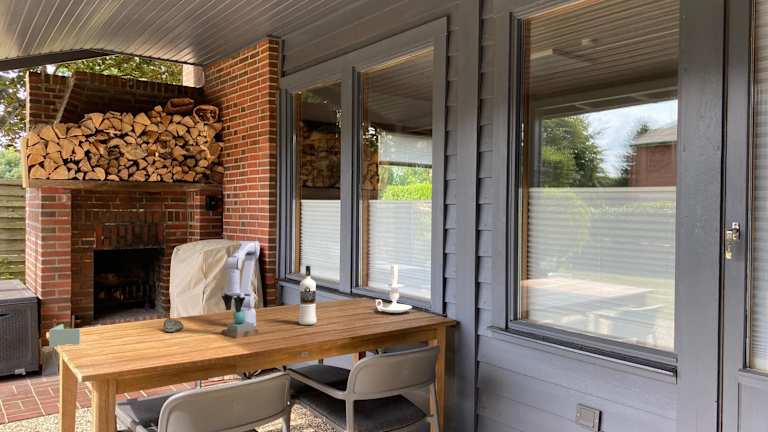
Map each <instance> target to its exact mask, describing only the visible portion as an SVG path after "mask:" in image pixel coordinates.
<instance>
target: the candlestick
mask: <svg viewBox="0 0 768 432" xmlns="http://www.w3.org/2000/svg"><path fill="white" fill-rule="evenodd" d="M390 268H391V276H390V277H391V280H390V282H391V283H387V284H384V286H385V287H386V288H387V287H388V288H390V289H391V290H390V292H389V298H390V300H391V301H392V302H391V303H383V301H382V299H375V307H376V308H377V311H379V312H384V313H390V314H400V313H405V312H407V311H409V310H410V309H412V308H413V306H412V305H409V304H404V303H403V304H402V303H397V301H398V299H399V298H400V293H399V291H398V288H402V287H404V286H405V284H399V283H398V278H399V277H398V276H399V275H398V274H399V272H398V271H399V270H398V269H399V266H398V264H392V265H391V267H390ZM378 302H380V304H379V305H378Z"/></svg>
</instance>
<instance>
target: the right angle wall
mask: <svg viewBox="0 0 768 432" xmlns="http://www.w3.org/2000/svg"><path fill="white" fill-rule="evenodd" d="M48 333H49V338H48V342H49V343H48V344H49V345H48V346H49V348H58V347H57V346H58V345H65V344H73V345H81V328H64V324H63V323H62V324H59V325H56V326H54V327H52V328H50V329H49V331H48Z"/></svg>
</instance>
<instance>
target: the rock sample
mask: <svg viewBox="0 0 768 432" xmlns="http://www.w3.org/2000/svg"><path fill="white" fill-rule="evenodd" d="M184 328H185V327H184V324H182V321H180V320H178V319H173V318H171V317H167V318H166V319H165V320H164V322H163V329H164V331H166V332H169V333H172V332H173V333H174V332H179V331H181V330H183V329H184Z"/></svg>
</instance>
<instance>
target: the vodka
mask: <svg viewBox="0 0 768 432" xmlns="http://www.w3.org/2000/svg"><path fill="white" fill-rule="evenodd" d="M311 267H312V266H311V265H305V278H304V279H302V280H301V281H300V283H299V317H298V324H300V325H305V326H309V325H315V324H316V323H317V321H318V320H317V319H318V318H317V315H316V310H317V309H316V308H317V307H316V305H317V304H316V299H317V298H316V295H317V294H316V291H317V289H316V287H317V282H316V281H315V280H314V279H312V278H311V277H312V276H311Z"/></svg>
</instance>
